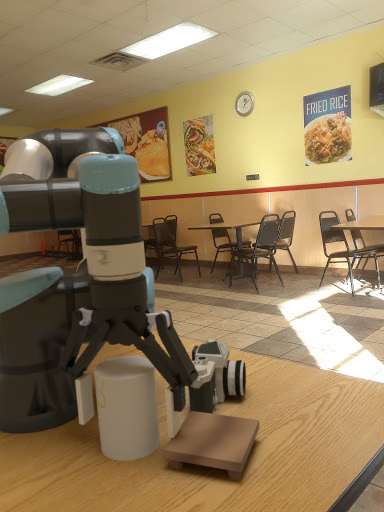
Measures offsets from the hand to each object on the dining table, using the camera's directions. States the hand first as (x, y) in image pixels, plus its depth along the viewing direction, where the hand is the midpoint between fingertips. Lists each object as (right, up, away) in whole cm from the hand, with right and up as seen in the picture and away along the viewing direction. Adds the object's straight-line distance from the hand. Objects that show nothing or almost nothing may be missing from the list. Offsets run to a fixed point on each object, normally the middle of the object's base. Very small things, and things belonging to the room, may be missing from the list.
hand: (129, 426), depth 60 cm
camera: (+13, -1, +14) cm, 19 cm away
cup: (0, -4, +1) cm, 4 cm away
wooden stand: (+12, -3, -2) cm, 12 cm away
